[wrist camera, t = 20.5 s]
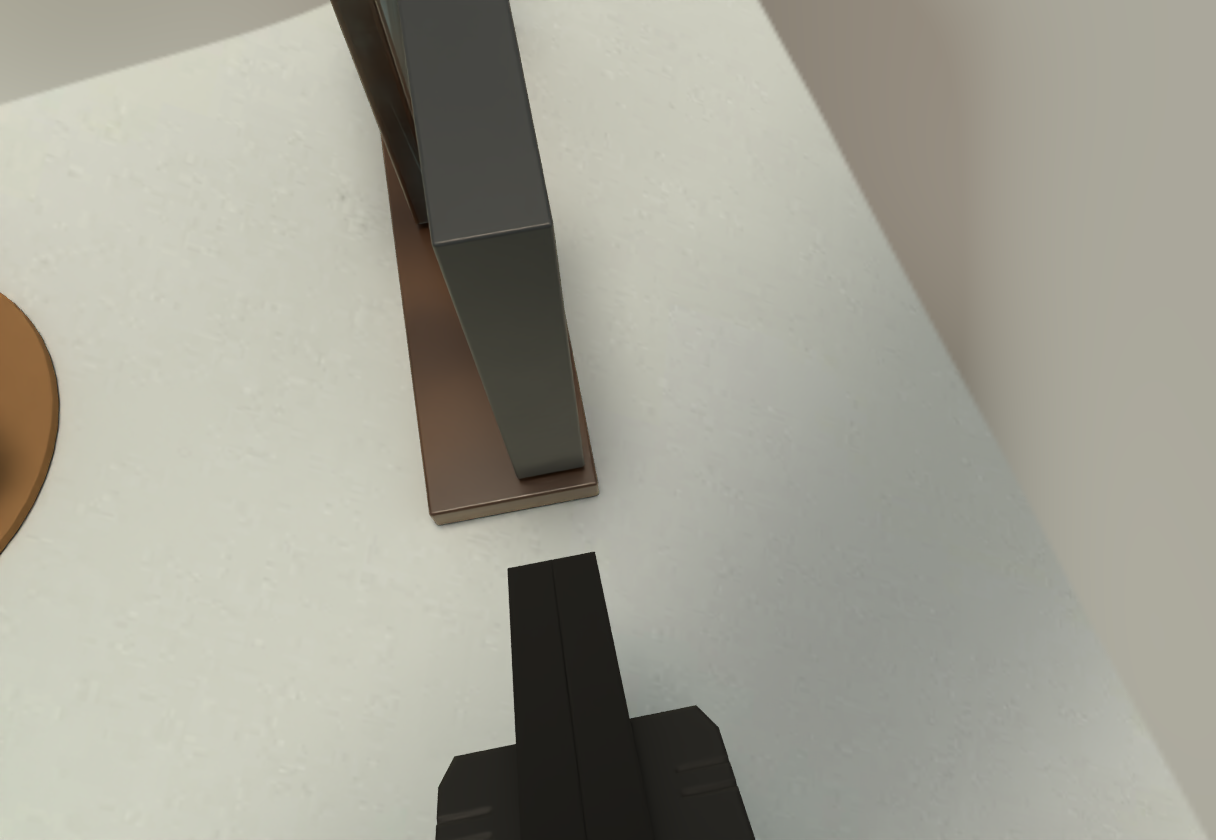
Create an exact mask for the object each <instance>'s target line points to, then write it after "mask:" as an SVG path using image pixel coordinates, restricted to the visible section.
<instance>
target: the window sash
mask: <svg viewBox="0 0 1216 840" xmlns="http://www.w3.org/2000/svg"><path fill="white" fill-rule="evenodd" d="M397 6H398V13H399V20H400V27H401V33H402V40H403V47H404V54H405V61H406V68H407V75H408V82H409V89H410V96H411V103H412V110H413V117H414V124H415V131H416V138H417V145H418V152H419V158H420V165H421V173H422V180H423V187H424V194H425V201H426V208H427V215H428V222H429V229H430V236H431V243H432V247H433V250H434V252H435V255H436V258H437V261H438V263H439V266H440V269H441V271H442V274H443V277H444V280H445V282H446V285H447V288H448V291H449V293H450V296H451V299H452V302H453V304H454V307H455V310H456V313H457V315H458V318H459V321H460V323H461V326H462V329H463V332H464V334H465V337H466V340H467V343H468V345H469V348H470V351H471V354H472V356H473V359H474V362H475V364H476V367H477V370H478V373H479V375H480V378H481V381H482V384H483V386H484V389H485V392H486V395H487V397H488V400H489V403H490V405H491V408H492V411H493V414H494V416H495V419H496V422H497V425H498V427H499V430H500V433H501V436H502V438H503V441H504V444H505V446H506V449H507V452H508V455H509V457H510V460H511V463H512V466H513V468H514V471H515V474H516V477H517V478H518V479H521V478H526V477H532V476H537V475H542V474H548V473H553V472H558V471H564V470H569V469H574V468H580V467H583V466H584V456H583V449H582V441H581V433H580V426H579V418H578V410H577V403H576V395H575V387H574V380H573V372H572V364H571V356H570V349H569V341H568V333H567V326H566V318H565V310H564V303H563V295H562V287H561V280H560V272H559V264H558V256H557V249H556V241H555V233H554V226H553V220H552V215H551V210H550V205H549V200H548V195H547V190H546V185H545V180H544V174H543V169H542V164H541V159H540V154H539V149H538V144H537V139H536V134H535V129H534V124H533V119H532V114H531V109H530V104H529V99H528V94H527V89H526V84H525V79H524V74H523V68H522V63H521V58H520V53H519V48H518V43H517V38H516V33H515V28H514V23H513V18H512V13H511V8H510V3H509V0H397Z"/></svg>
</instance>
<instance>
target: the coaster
mask: <svg viewBox="0 0 1216 840" xmlns="http://www.w3.org/2000/svg"><path fill="white" fill-rule="evenodd" d="M58 408H59V400H58V391H57V382H56V376H55V373H54V369H53V365H52V362H51V358H50V355H49V353H48V351H47V349H46V346H45V344H44V342H43V340H42V338H41V336H40V334H39V333H38V331H37V330H36V328H35V327H34V325H33V324H32V322H31V321H30V320H29V318H28V317H27V316H26V315H25V314H24V313H23V312H22V311H21V310H20V309H19V308H18V307H17V306H16V305H15V303H13V302H12V301H11V300H9V299H8V298H7V297H6V296H4V295H3V294H2V293H0V553H1V552H2V550H3V549H4V548H5V546H6V545H7V544H8V542H9V541H10V540H11V538H12V537H13V536H14V534H15V533H16V532H17V530H18V529H19V527H20V526H21V524H22V522H23V521H24V519H25V517H26V516H27V514H28V512H29V511H30V509H31V507H32V506H33V504H34V502H35V499H36V497H37V495H38V493H39V491H40V488H41V486H42V484H43V482H44V480H45V477H46V474H47V471H48V467H49V464H50V461H51V458H52V455H53V451H54V445H55V440H56V434H57V428H58Z"/></svg>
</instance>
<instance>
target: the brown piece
mask: <svg viewBox="0 0 1216 840" xmlns="http://www.w3.org/2000/svg"><path fill="white" fill-rule="evenodd" d="M330 1H331V4H332V6H333V9H334V12H335V14H336V17H337V19H338V22H339V25H340V27H341V30H342V33H343V35H344V38H345V40H346V43H347V46H348V48H349V51H350V54H351V56H352V59H353V61H354V64H355V67H356V69H357V72H358V75H359V77H360V80H361V82H362V85H363V88H364V90H365V93H366V96H367V98H368V101H369V103H370V106H371V109H372V111H373V114H374V116H375V119H376V122H377V124H378V127H379V130H380V133H381V141H382V149H383V156H384V164H385V172H386V180H387V188H388V195H389V203H390V211H391V219H392V227H393V234H394V242H395V250H396V258H397V266H398V273H399V281H400V289H401V297H402V305H403V312H404V320H405V328H406V336H407V344H408V351H409V359H410V367H411V375H412V383H413V390H414V398H415V406H416V414H417V422H418V430H419V437H420V445H421V453H422V461H423V469H424V476H425V484H426V492H427V500H428V508H429V514H430V516H431V517H432V519H433V520H434V521H435V523H436V524H437V525H443V524H448V523H453V522H458V521H464V520H469V519H474V518H480V517H485V516H490V515H496V514H501V513H506V512H511V511H517V510H522V509H527V508H533V507H538V506H543V505H549V504H554V503H559V502H564V501H570V500H575V499H580V498H586V497H591V496H596V495H598V494H599V487H598V479H597V474H596V469H595V464H594V459H593V454H592V449H591V444H590V438H589V433H588V428H587V423H586V418H585V413H584V408H583V403H582V397H581V392H580V387H579V382H578V377H577V372H576V367H575V362H574V356H573V351H572V346H571V341H570V336H569V331H568V326H567V321H566V326H567V333H568V341H569V349H570V356H571V364H572V372H573V380H574V387H575V395H576V403H577V410H578V418H579V426H580V433H581V441H582V449H583V456H584V466H583V467H580V468H574V469H569V470H564V471H558V472H553V473H548V474H542V475H537V476H532V477H526V478H521V479H518V478H517V477H516V474H515V471H514V468H513V466H512V463H511V460H510V457H509V455H508V452H507V449H506V446H505V444H504V441H503V438H502V436H501V433H500V430H499V427H498V425H497V422H496V419H495V416H494V414H493V411H492V408H491V405H490V403H489V400H488V397H487V395H486V392H485V389H484V386H483V384H482V381H481V378H480V375H479V373H478V370H477V367H476V364H475V362H474V359H473V356H472V354H471V351H470V348H469V345H468V343H467V340H466V337H465V334H464V332H463V329H462V326H461V323H460V321H459V318H458V315H457V313H456V310H455V307H454V304H453V302H452V299H451V296H450V293H449V291H448V288H447V285H446V282H445V280H444V277H443V274H442V271H441V269H440V266H439V263H438V261H437V258H436V255H435V252H434V250H433V247H432V243H431V236H430V229H429V222H428V215H427V208H426V201H425V194H424V187H423V180H422V173H421V165H420V158H419V152H418V145H417V138H416V131H415V124H414V117H413V110H412V103H411V96H410V89H409V82H408V75H407V68H406V61H405V54H404V47H403V40H402V33H401V27H400V20H399V13H398V6H397V0H330ZM565 318H566V315H565Z"/></svg>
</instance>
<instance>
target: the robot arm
mask: <svg viewBox="0 0 1216 840" xmlns="http://www.w3.org/2000/svg"><path fill="white" fill-rule="evenodd" d="M508 587H509V608H510V629H511V650H512V671H513V692H514V712H515V733H516V744H514V745H509V746H504V747H499V748H494V749H489V750H484V751H479V752H475V753H470V754H465V755H460V756H455V757H454V758H453V760H452V762H451V764H450V766H449V768H448V770H447V772H446V773H445V775H444V777H443V779H442V781H441V783H440V785H439V787H438V803H437V825H436V840H755V837H754V834H753V831H752V828H751V825H750V822H749V819H748V816H747V813H746V810H745V807H744V804H743V801H742V797H741V794H740V791H739V788H738V786H737V784H736V779H735V776H734V773H733V770H732V767H731V764H730V762H729V759H728V755H727V752H726V749H725V746H724V743H723V740H722V736H721V733H720V730H719V727H718V726H717V725H716V724H715V723H714V722H713V721H712V720H711V719H710V718H709V717H708V716H707V715H706V714H705V713H704V712H703V711H702V710H701V709H699V708H698V707H697V706H696V705H695V706H690V707H685V708H680V709H675V710H670V711H665V712H660V713H656V714H651V715H646V716H641V717H636V718H631V719H630V718H629V713H628V709H627V704H626V699H625V694H624V689H623V685H622V680H621V675H620V670H619V665H618V661H617V656H616V651H615V646H614V641H613V636H612V632H611V627H610V622H609V617H608V612H607V608H606V603H605V598H604V593H603V588H602V584H601V579H600V574H599V569H598V564H597V560H596V555H595V552H590V553H585V554H580V555H575V556H569V557H564V558H559V559H554V560H549V561H543V562H538V563H533V564H528V565H523V566H518V567H512V568H508Z"/></svg>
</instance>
